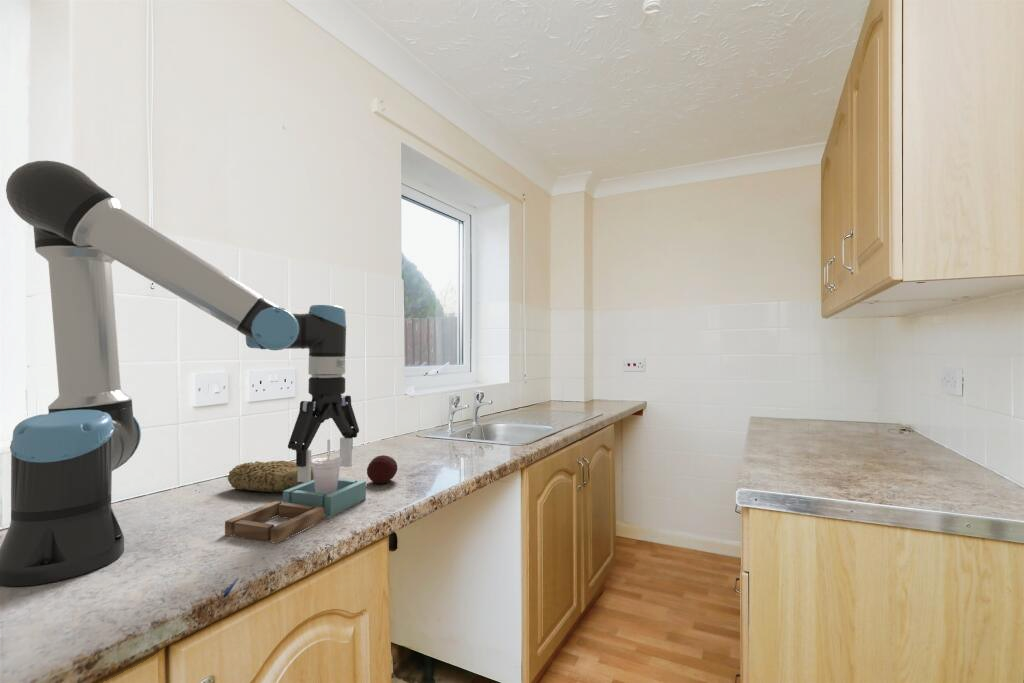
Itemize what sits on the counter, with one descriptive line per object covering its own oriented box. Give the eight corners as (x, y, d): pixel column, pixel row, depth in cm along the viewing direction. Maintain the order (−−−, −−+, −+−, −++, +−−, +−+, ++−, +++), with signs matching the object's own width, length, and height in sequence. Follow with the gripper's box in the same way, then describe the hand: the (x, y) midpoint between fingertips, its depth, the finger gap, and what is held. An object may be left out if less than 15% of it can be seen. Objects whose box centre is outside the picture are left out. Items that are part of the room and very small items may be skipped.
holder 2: (330, 516, 98) (330, 496, 98) (282, 510, 102) (283, 491, 102) (365, 498, 109) (365, 481, 109) (321, 493, 113) (321, 476, 113)
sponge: (221, 498, 113) (284, 491, 106) (223, 464, 115) (284, 454, 108) (269, 493, 125) (329, 486, 118) (270, 462, 127) (328, 453, 120)
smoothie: (347, 503, 106) (348, 439, 107) (322, 511, 101) (323, 444, 101) (328, 498, 110) (329, 436, 110) (303, 505, 104) (304, 440, 105)
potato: (401, 478, 127) (401, 451, 127) (391, 487, 118) (391, 459, 119) (374, 477, 127) (374, 450, 128) (362, 486, 119) (362, 458, 119)
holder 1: (277, 543, 85) (277, 529, 85) (224, 534, 88) (225, 521, 88) (324, 520, 96) (324, 507, 96) (275, 513, 100) (275, 501, 100)
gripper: (300, 380, 93) (299, 491, 93) (374, 373, 116) (373, 461, 116) (269, 379, 95) (267, 487, 95) (348, 372, 119) (347, 459, 119)
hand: (326, 473), depth 106 cm, fingers open, 13 cm apart
